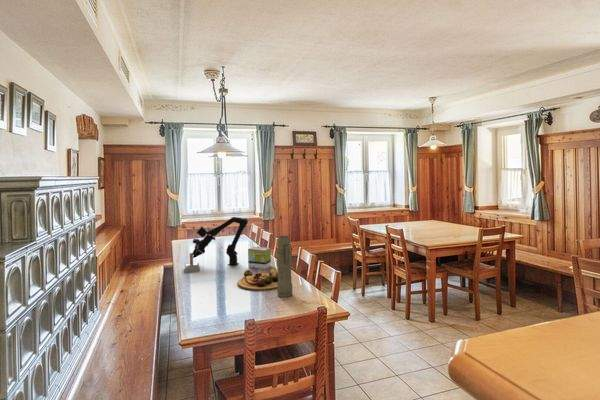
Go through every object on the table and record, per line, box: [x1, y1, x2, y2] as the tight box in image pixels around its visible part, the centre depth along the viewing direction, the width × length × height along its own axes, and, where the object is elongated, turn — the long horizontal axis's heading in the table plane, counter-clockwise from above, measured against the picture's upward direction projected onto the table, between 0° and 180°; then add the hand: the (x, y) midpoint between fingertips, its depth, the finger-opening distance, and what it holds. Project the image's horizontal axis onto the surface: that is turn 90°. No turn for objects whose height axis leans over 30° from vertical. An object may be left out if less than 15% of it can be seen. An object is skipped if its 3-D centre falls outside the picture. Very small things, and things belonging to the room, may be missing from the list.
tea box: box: [247, 246, 272, 270], centre depth 290 cm, size 15×10×15 cm
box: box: [184, 262, 200, 273], centre depth 284 cm, size 12×10×4 cm
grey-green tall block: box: [276, 235, 294, 299], centre depth 220 cm, size 9×12×35 cm
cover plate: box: [185, 252, 198, 266], centre depth 296 cm, size 10×8×11 cm
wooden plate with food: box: [236, 268, 278, 292], centre depth 246 cm, size 32×32×8 cm
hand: (192, 256), depth 294 cm, fingers open, 9 cm apart
